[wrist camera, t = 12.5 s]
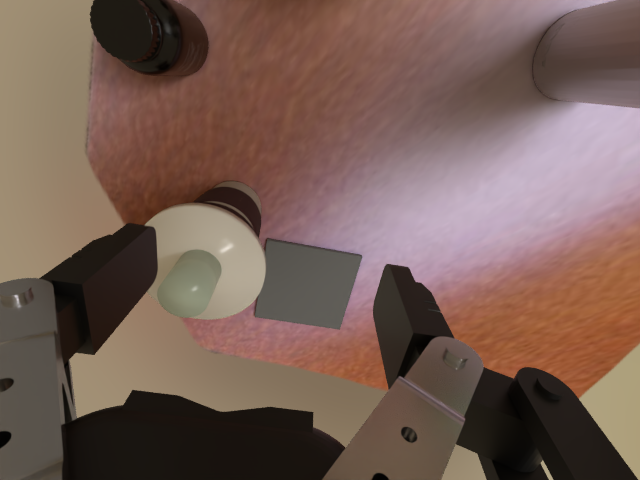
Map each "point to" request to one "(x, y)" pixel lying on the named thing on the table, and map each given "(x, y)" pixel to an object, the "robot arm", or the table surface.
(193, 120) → the table surface
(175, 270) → the lid
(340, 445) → the robot arm
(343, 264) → the mat
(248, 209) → the coffee cup
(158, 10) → the supplement bottle
